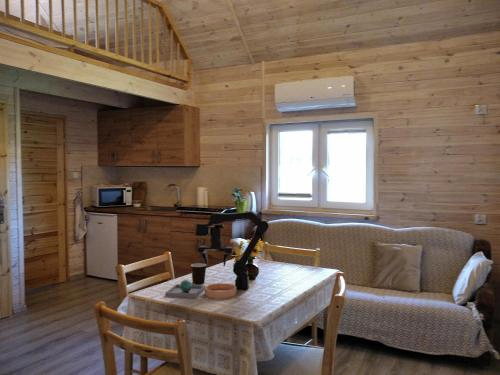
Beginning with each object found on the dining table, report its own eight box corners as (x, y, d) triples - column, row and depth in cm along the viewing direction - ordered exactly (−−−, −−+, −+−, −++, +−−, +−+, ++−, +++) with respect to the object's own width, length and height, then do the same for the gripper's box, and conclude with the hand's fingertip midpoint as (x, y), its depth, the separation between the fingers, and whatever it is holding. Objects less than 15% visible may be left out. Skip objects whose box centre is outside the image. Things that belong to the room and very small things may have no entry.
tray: (205, 289, 226) (205, 285, 226) (196, 298, 210) (196, 294, 210) (176, 287, 229) (176, 284, 229) (165, 296, 213) (165, 292, 213)
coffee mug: (203, 285, 233) (203, 267, 233) (188, 284, 235) (188, 266, 235) (209, 280, 245) (209, 262, 244) (195, 279, 247) (195, 262, 246)
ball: (193, 290, 222) (193, 279, 222) (189, 293, 216) (189, 282, 216) (182, 289, 223) (182, 278, 223) (178, 293, 217) (178, 281, 217)
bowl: (238, 290, 224) (238, 283, 224) (232, 299, 208) (232, 292, 208) (209, 289, 226) (209, 282, 226) (201, 297, 211) (201, 290, 211)
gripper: (236, 234, 233) (236, 263, 234) (202, 233, 237) (202, 261, 237) (231, 237, 222) (231, 267, 223) (197, 236, 226) (197, 266, 226)
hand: (215, 265), depth 228 cm, fingers open, 9 cm apart
